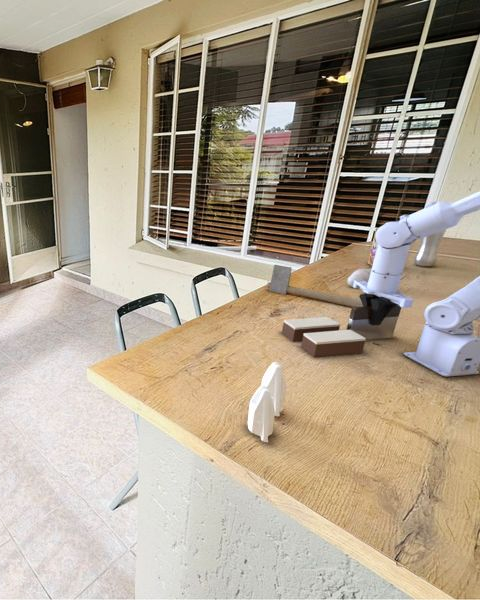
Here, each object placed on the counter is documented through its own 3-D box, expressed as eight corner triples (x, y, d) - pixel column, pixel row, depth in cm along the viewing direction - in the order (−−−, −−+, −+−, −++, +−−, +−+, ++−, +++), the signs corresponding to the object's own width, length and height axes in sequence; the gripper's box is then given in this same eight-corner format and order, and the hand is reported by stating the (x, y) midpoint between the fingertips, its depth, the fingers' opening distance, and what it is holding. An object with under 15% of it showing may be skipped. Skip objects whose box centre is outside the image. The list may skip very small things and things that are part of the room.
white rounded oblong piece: (375, 279, 129) (351, 294, 124) (361, 267, 131) (338, 281, 126) (389, 270, 124) (366, 285, 118) (376, 257, 126) (352, 271, 121)
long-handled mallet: (368, 312, 104) (265, 290, 126) (370, 310, 106) (267, 288, 127) (377, 282, 101) (269, 264, 122) (379, 281, 102) (271, 263, 123)
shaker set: (262, 399, 70) (270, 350, 66) (285, 407, 67) (295, 357, 63) (242, 433, 62) (249, 380, 58) (267, 443, 59) (277, 389, 55)
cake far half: (337, 337, 91) (340, 324, 90) (292, 341, 91) (295, 327, 89) (324, 329, 96) (327, 316, 94) (281, 333, 95) (283, 319, 94)
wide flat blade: (392, 337, 90) (402, 305, 86) (347, 341, 89) (355, 309, 86) (388, 335, 91) (397, 303, 87) (343, 339, 90) (351, 307, 87)
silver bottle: (418, 267, 139) (434, 217, 132) (409, 263, 145) (423, 214, 138) (438, 268, 138) (455, 216, 130) (428, 263, 144) (444, 214, 136)
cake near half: (362, 353, 84) (366, 338, 82) (313, 357, 83) (317, 342, 82) (346, 343, 88) (350, 329, 87) (300, 347, 88) (303, 333, 86)
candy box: (366, 263, 148) (375, 227, 143) (378, 264, 147) (388, 227, 141) (374, 269, 140) (384, 231, 135) (387, 269, 139) (398, 231, 134)
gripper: (346, 265, 90) (335, 313, 95) (398, 282, 76) (382, 337, 81) (373, 263, 90) (360, 311, 95) (428, 280, 77) (410, 335, 82)
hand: (372, 323), depth 88 cm, fingers closed on wide flat blade, 1 cm apart
